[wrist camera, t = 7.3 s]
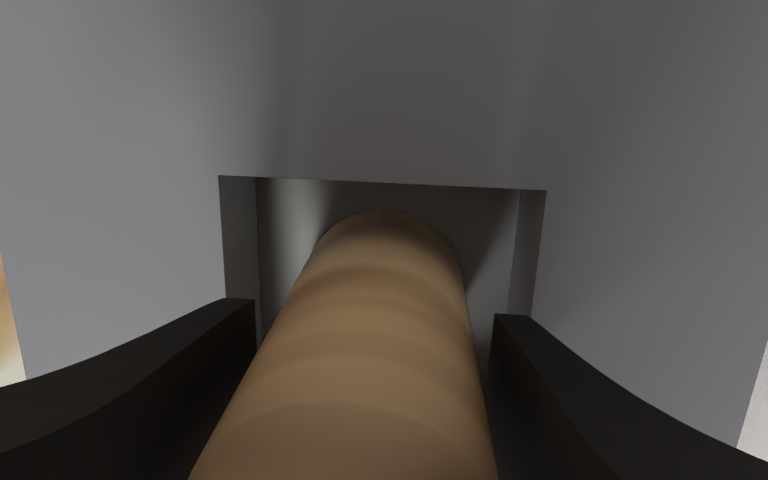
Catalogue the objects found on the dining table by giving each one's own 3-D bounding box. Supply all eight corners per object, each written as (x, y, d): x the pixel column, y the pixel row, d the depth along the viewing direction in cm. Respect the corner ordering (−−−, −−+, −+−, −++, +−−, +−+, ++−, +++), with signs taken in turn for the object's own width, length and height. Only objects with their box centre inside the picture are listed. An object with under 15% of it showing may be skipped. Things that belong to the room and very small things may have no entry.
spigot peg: (450, 359, 15) (480, 678, 7) (303, 341, 15) (182, 636, 7) (473, 218, 14) (538, 426, 6) (312, 199, 14) (176, 380, 6)
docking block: (644, 547, 16) (682, 632, 14) (116, 507, 17) (67, 580, 15) (792, -60, 11) (893, -91, 9) (24, -80, 12) (-74, -112, 10)
